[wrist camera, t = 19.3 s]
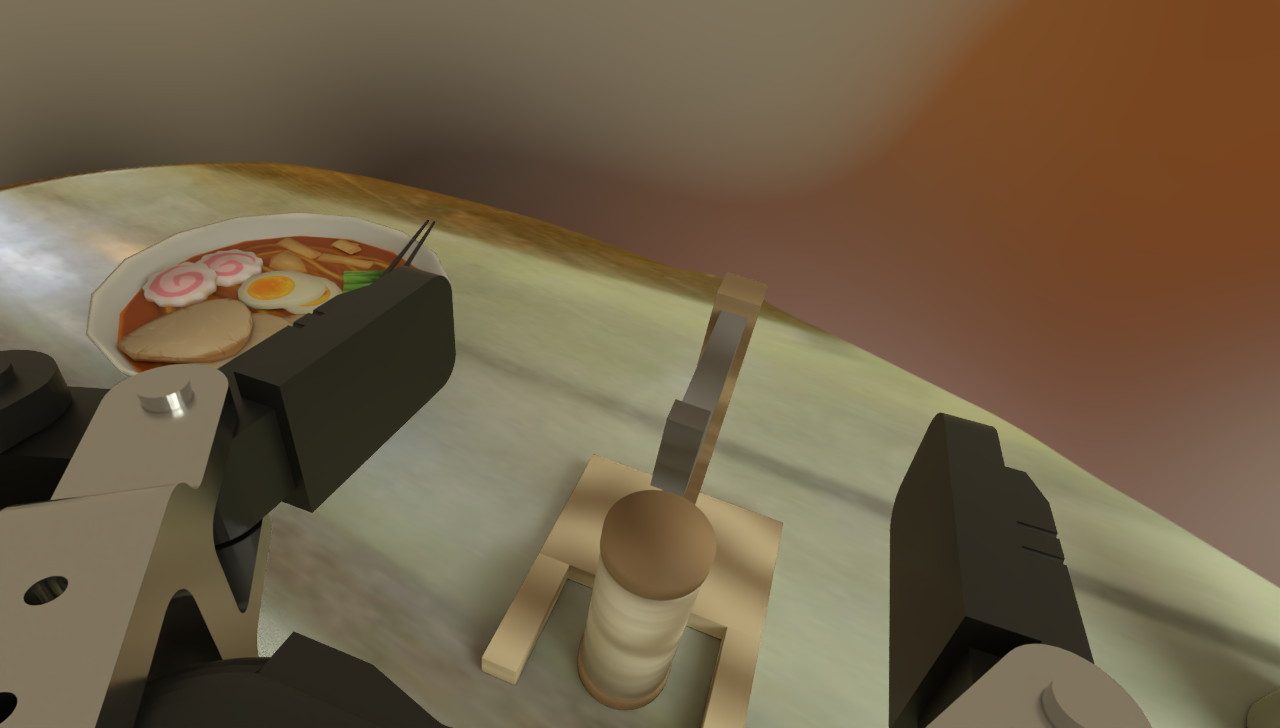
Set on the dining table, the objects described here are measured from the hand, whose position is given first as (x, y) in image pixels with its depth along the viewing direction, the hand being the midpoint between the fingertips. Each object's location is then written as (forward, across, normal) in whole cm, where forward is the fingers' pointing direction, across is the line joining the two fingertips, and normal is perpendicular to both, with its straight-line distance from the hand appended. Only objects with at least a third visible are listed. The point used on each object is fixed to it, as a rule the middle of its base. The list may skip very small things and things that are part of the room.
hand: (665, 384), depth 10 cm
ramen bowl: (+24, +34, +26) cm, 48 cm away
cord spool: (+12, +2, +28) cm, 31 cm away
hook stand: (+16, +2, +28) cm, 33 cm away
